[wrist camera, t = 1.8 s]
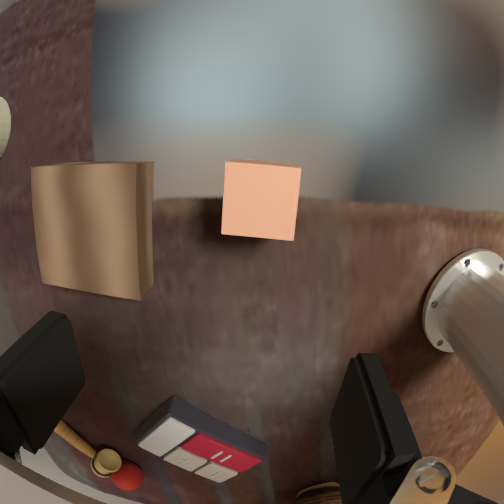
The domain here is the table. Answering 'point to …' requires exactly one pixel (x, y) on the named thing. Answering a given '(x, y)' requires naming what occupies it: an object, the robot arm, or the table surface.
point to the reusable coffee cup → (4, 124)
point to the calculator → (198, 441)
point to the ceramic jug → (320, 494)
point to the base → (95, 226)
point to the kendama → (105, 461)
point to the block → (260, 199)
